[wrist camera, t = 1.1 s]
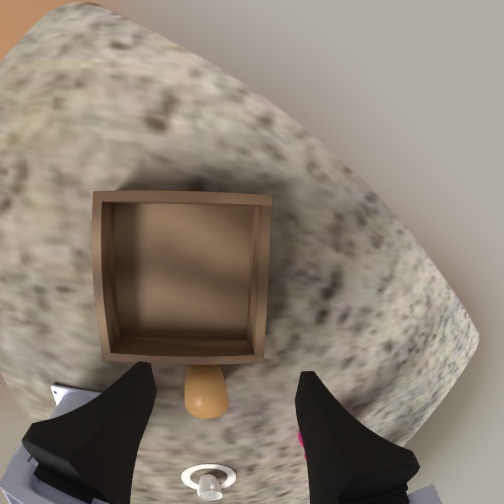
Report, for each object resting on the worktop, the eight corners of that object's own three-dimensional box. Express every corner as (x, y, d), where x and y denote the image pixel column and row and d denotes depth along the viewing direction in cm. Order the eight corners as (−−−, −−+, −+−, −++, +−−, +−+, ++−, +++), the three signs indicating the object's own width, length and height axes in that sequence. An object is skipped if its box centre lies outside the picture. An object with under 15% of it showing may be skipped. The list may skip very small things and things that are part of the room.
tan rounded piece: (222, 389, 27) (229, 418, 22) (186, 390, 26) (186, 419, 21) (222, 358, 26) (229, 385, 22) (183, 359, 26) (183, 386, 21)
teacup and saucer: (216, 494, 30) (220, 512, 26) (170, 482, 28) (171, 501, 24) (246, 468, 30) (251, 488, 26) (196, 455, 28) (198, 477, 24)
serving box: (252, 341, 27) (263, 362, 22) (115, 339, 24) (103, 360, 19) (259, 199, 25) (272, 195, 21) (110, 195, 22) (93, 191, 18)
